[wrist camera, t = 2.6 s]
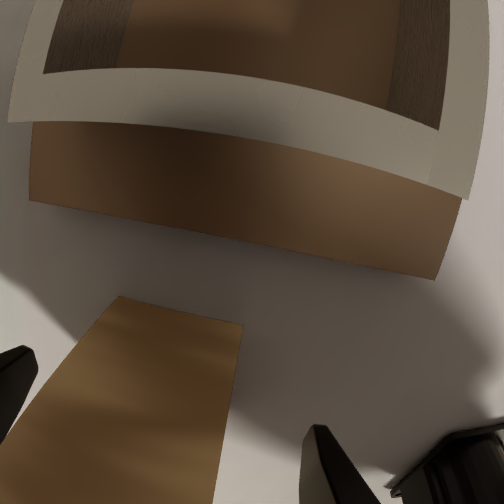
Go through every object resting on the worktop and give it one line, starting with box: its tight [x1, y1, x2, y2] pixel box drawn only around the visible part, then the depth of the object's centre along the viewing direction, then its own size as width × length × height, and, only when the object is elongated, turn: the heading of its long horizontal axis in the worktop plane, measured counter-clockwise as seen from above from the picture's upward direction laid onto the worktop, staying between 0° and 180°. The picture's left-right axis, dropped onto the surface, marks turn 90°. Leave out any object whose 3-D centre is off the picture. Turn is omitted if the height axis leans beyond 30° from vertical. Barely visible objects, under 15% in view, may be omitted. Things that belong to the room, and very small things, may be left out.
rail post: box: [0, 296, 243, 504], centre depth 6 cm, size 4×4×8 cm
